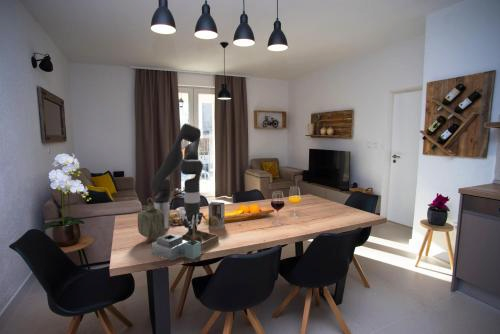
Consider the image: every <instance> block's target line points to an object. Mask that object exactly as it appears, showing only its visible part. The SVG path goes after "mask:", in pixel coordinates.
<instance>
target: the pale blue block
mask: <svg viewBox="0 0 500 334" xmlns="http://www.w3.org/2000/svg"><path fill="white" fill-rule="evenodd" d="M186 242H188V241H184V240H183V236H181V235H179V234H175V233H171V232H169V233H166V234H163V235H160V236H159V237H158V238H157V237H156V240H154V241H151V253H152V255H154V256H158V257H159V256H160V258H162V257H163V259H165V260H168V261H171V262H172V261H174V260H176V259H179V258H180V257H182V256H185V243H186Z"/></svg>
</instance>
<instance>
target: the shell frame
mask: <svg viewBox="0 0 500 334" xmlns="http://www.w3.org/2000/svg"><path fill="white" fill-rule="evenodd" d="M197 234H198V235H200V236H201V238H202V239H205V241H202V243H201V252H202V250H203V251H205V250H206V249H208V248H210V247H212V246H214V245H216V244H218V243H219V240H220V239H219V235H218V234H216V233H213V232H212V233H211V232H208V231H203V230H199V229H197ZM180 236H183V240H184V241H186V240H185V239H186V233H184V234H181V235H180ZM188 242H189V241H188Z"/></svg>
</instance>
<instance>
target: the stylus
mask: <svg viewBox="0 0 500 334" xmlns="http://www.w3.org/2000/svg"><path fill="white" fill-rule="evenodd" d="M190 222H191V221H190ZM191 243H195V220H194V224H193V236H191Z"/></svg>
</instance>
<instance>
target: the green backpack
mask: <svg viewBox="0 0 500 334" xmlns="http://www.w3.org/2000/svg"><path fill="white" fill-rule="evenodd" d="M149 200H151V202H150V203H149ZM146 202H147V205H148V206H147V207H146V208H145V209H143V210H141V211H139V212H138V213H137V230H138V233H139V234H140V235H141V236H143V237H144V238H147V239H146V243H150V239H153V238H156V239H157V238H158V237H161V236H164V235H165V230H166V229H165V220H164V214H163V212H162V211H160V210H158V209H155V207H154V198H151V197H148V198H147V200H146Z"/></svg>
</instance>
